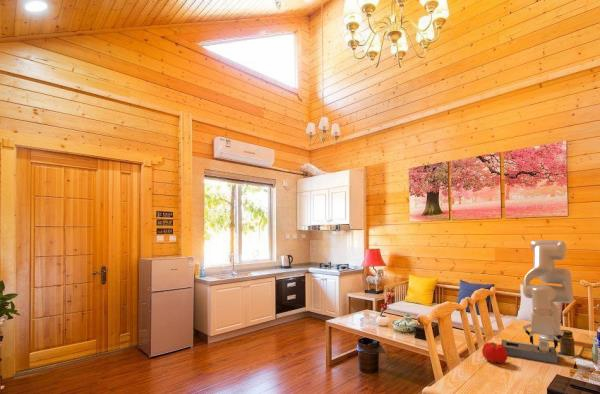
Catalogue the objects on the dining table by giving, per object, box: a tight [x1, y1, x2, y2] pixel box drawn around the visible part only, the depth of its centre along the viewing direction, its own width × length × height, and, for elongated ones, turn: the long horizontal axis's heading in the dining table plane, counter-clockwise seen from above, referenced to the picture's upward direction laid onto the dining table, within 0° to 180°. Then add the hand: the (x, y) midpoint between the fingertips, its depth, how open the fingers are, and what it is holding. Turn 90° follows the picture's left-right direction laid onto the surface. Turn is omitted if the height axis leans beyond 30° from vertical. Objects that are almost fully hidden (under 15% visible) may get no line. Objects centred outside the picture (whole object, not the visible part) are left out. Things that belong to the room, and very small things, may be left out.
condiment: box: [556, 329, 579, 359], centre depth 180 cm, size 7×8×12 cm
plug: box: [538, 337, 550, 352], centre depth 175 cm, size 5×4×9 cm
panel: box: [500, 339, 559, 365], centre depth 179 cm, size 14×24×4 cm, turn 57°
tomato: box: [481, 341, 508, 364], centre depth 170 cm, size 11×11×9 cm
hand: (543, 345), depth 175 cm, fingers open, 9 cm apart
